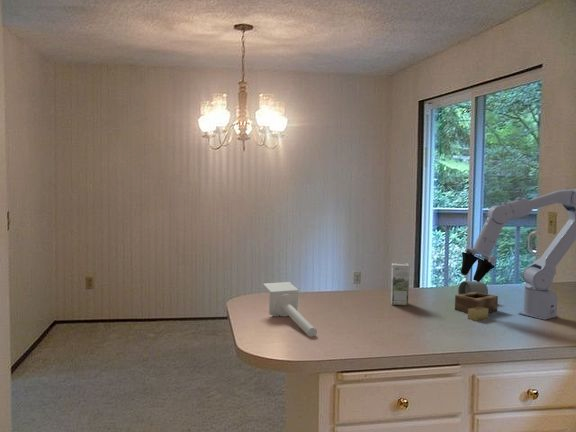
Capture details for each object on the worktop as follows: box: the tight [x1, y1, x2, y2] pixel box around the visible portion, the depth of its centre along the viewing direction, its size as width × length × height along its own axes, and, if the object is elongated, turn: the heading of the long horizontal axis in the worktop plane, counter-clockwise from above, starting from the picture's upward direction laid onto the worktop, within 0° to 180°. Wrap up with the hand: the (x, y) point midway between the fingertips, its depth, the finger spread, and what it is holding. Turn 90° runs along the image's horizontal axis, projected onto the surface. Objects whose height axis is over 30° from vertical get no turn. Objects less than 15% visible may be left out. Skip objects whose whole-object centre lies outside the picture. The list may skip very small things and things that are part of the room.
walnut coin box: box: [454, 292, 499, 314], centre depth 188 cm, size 11×9×5 cm
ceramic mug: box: [457, 280, 489, 295], centre depth 203 cm, size 11×8×8 cm
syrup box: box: [390, 262, 410, 307], centre depth 195 cm, size 6×6×14 cm
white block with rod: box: [262, 281, 318, 337], centre depth 169 cm, size 9×9×32 cm
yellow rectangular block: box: [467, 306, 489, 322], centre depth 177 cm, size 6×4×3 cm, turn 128°
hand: (469, 277), depth 182 cm, fingers open, 7 cm apart
